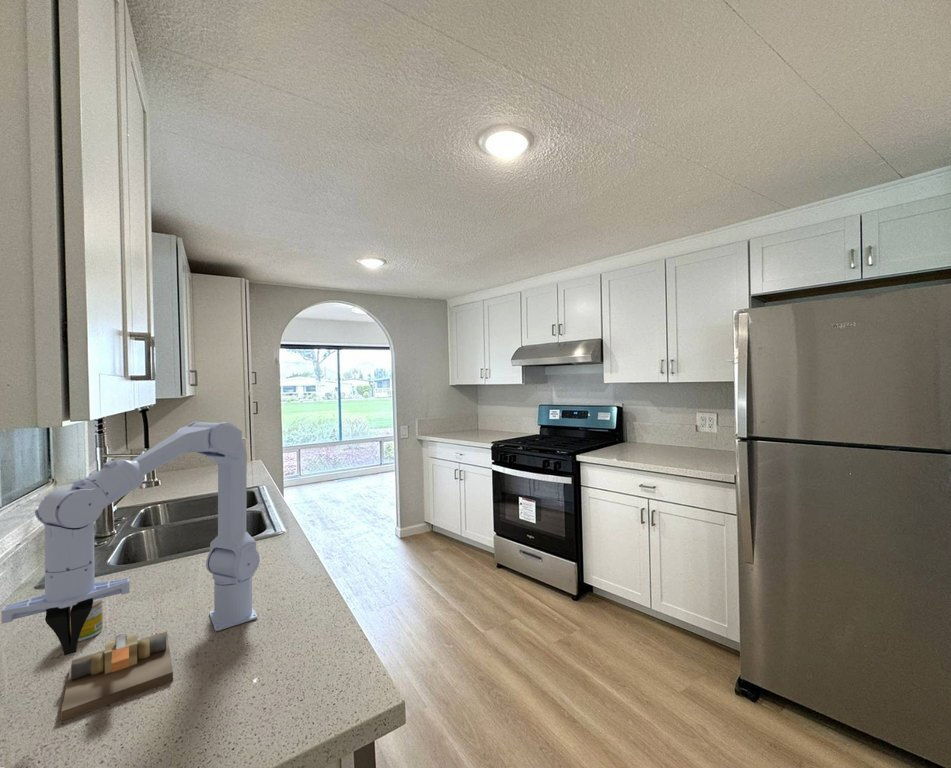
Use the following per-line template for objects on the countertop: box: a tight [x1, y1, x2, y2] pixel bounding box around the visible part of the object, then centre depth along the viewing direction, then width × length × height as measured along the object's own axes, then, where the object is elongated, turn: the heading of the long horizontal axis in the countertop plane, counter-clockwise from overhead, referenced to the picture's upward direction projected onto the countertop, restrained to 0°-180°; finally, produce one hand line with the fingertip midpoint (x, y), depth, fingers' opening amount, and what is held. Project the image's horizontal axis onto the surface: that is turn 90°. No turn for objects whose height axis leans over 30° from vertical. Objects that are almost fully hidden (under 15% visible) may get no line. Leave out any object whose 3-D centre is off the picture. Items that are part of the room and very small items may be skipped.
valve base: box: [60, 631, 174, 722], centre depth 76 cm, size 16×14×5 cm
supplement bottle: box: [70, 598, 104, 642], centre depth 88 cm, size 5×5×10 cm
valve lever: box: [111, 633, 129, 672], centre depth 73 cm, size 10×2×1 cm, turn 39°
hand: (70, 651), depth 67 cm, fingers closed
